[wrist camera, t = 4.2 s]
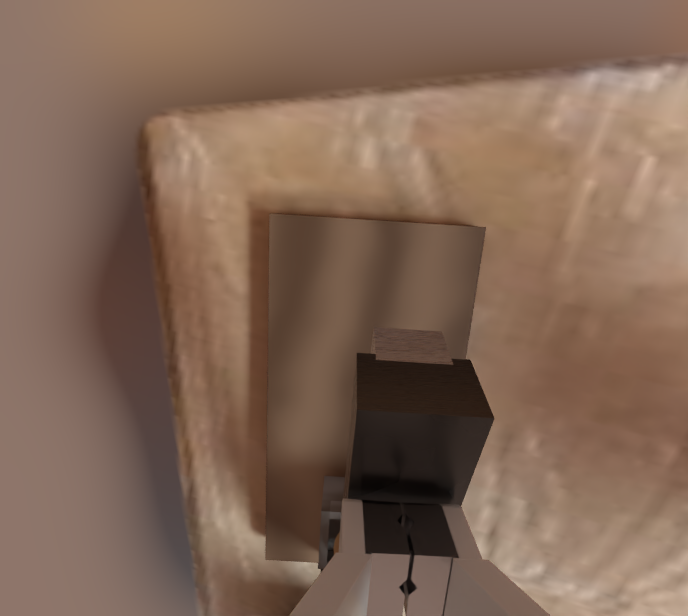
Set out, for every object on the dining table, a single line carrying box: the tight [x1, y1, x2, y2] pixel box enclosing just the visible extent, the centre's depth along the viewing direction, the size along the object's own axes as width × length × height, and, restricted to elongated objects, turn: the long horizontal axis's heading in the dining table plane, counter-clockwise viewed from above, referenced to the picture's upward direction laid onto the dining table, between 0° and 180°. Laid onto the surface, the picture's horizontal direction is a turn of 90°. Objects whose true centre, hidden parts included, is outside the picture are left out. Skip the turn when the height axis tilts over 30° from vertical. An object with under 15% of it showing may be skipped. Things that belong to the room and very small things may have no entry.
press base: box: [266, 214, 486, 572], centre depth 23 cm, size 14×28×13 cm, turn 176°
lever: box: [343, 327, 494, 506], centre depth 16 cm, size 3×24×4 cm, turn 177°
